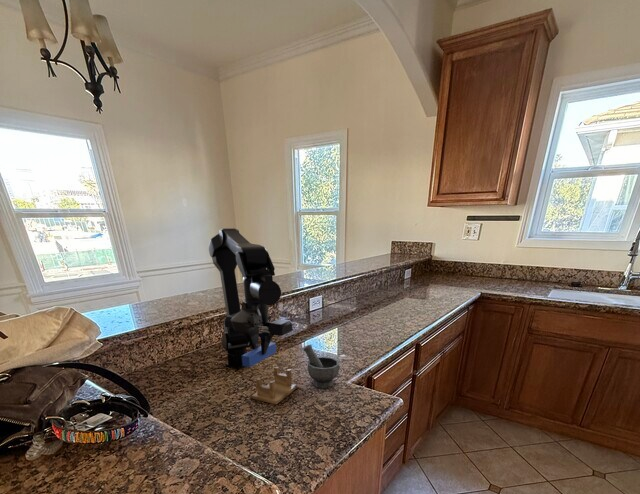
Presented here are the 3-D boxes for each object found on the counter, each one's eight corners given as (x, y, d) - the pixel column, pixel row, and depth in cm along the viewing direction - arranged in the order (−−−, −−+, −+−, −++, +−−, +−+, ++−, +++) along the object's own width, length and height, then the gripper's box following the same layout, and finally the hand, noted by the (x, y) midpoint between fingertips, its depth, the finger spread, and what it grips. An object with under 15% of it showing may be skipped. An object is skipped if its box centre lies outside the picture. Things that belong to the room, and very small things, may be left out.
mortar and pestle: (342, 379, 111) (343, 343, 106) (334, 392, 103) (335, 353, 98) (308, 374, 114) (308, 339, 108) (298, 386, 106) (297, 349, 100)
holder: (274, 382, 108) (273, 364, 105) (297, 387, 105) (296, 369, 102) (251, 398, 99) (250, 379, 96) (276, 404, 96) (275, 384, 93)
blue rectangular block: (269, 351, 105) (268, 341, 104) (276, 352, 104) (275, 342, 103) (242, 365, 95) (241, 355, 93) (249, 367, 94) (248, 356, 92)
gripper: (206, 299, 89) (214, 357, 96) (268, 307, 82) (272, 369, 89) (234, 292, 98) (239, 345, 105) (292, 299, 91) (294, 355, 98)
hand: (259, 353), depth 99 cm, fingers closed on blue rectangular block, 2 cm apart
